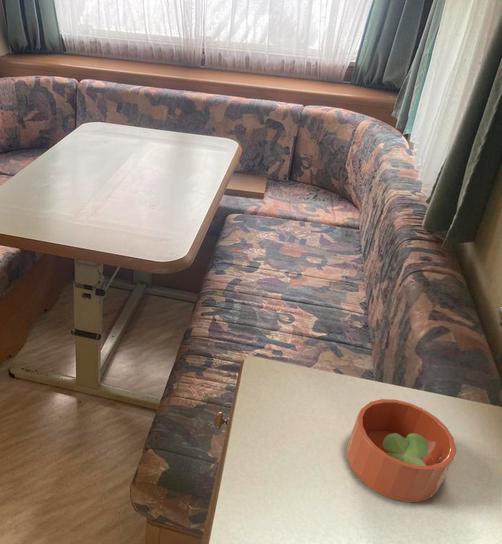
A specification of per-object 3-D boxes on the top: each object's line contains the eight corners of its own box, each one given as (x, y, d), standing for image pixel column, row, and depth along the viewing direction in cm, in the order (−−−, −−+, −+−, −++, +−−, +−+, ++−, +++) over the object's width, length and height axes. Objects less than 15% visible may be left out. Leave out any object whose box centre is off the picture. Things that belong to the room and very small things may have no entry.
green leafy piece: (392, 479, 90) (402, 493, 84) (361, 435, 91) (369, 446, 85) (432, 455, 89) (446, 468, 83) (400, 411, 90) (411, 420, 84)
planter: (416, 431, 93) (430, 400, 90) (456, 503, 82) (474, 470, 78) (335, 429, 93) (345, 397, 89) (364, 501, 82) (377, 468, 78)
